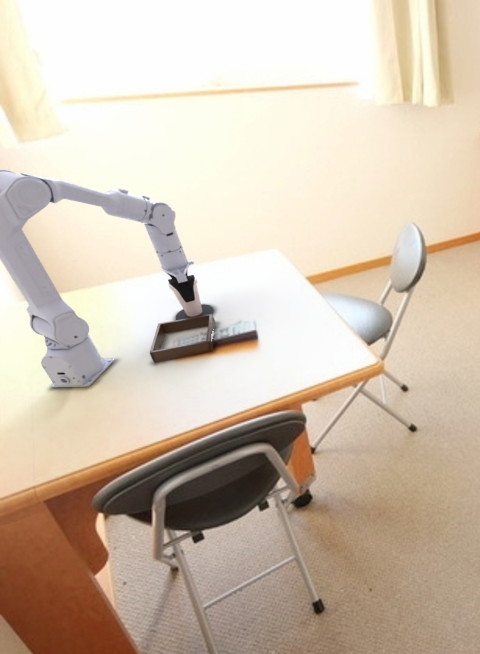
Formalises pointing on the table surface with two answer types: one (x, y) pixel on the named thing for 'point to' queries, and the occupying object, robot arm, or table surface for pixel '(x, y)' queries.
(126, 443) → the table surface
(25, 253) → the robot arm
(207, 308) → the coaster
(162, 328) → the box
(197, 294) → the smoothie
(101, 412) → the table surface
